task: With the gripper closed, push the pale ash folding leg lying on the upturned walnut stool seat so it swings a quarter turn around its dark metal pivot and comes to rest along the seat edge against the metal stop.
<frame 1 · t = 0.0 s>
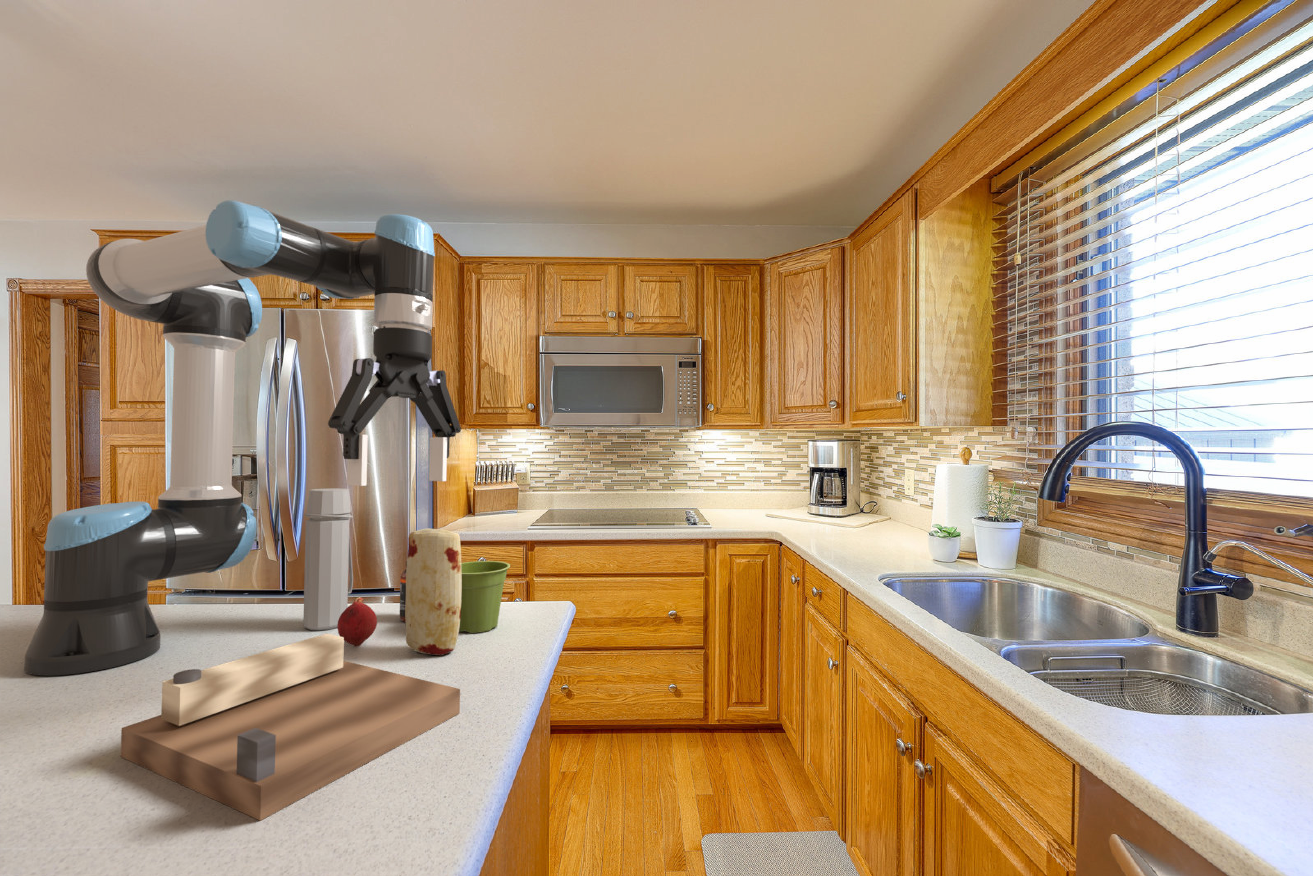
hand: (400, 483, 83), 28 cm above the counter, fingers open, 13 cm apart
plant pot: (476, 629, 109), on the counter
onion: (356, 647, 98), on the counter
food model: (433, 653, 96), on the counter
stool seat: (304, 733, 68), on the counter
water bottle: (330, 625, 110), on the counter
folding leg: (262, 670, 72), point 6 cm above the counter, hinge at 90.0°
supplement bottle: (416, 620, 114), on the counter
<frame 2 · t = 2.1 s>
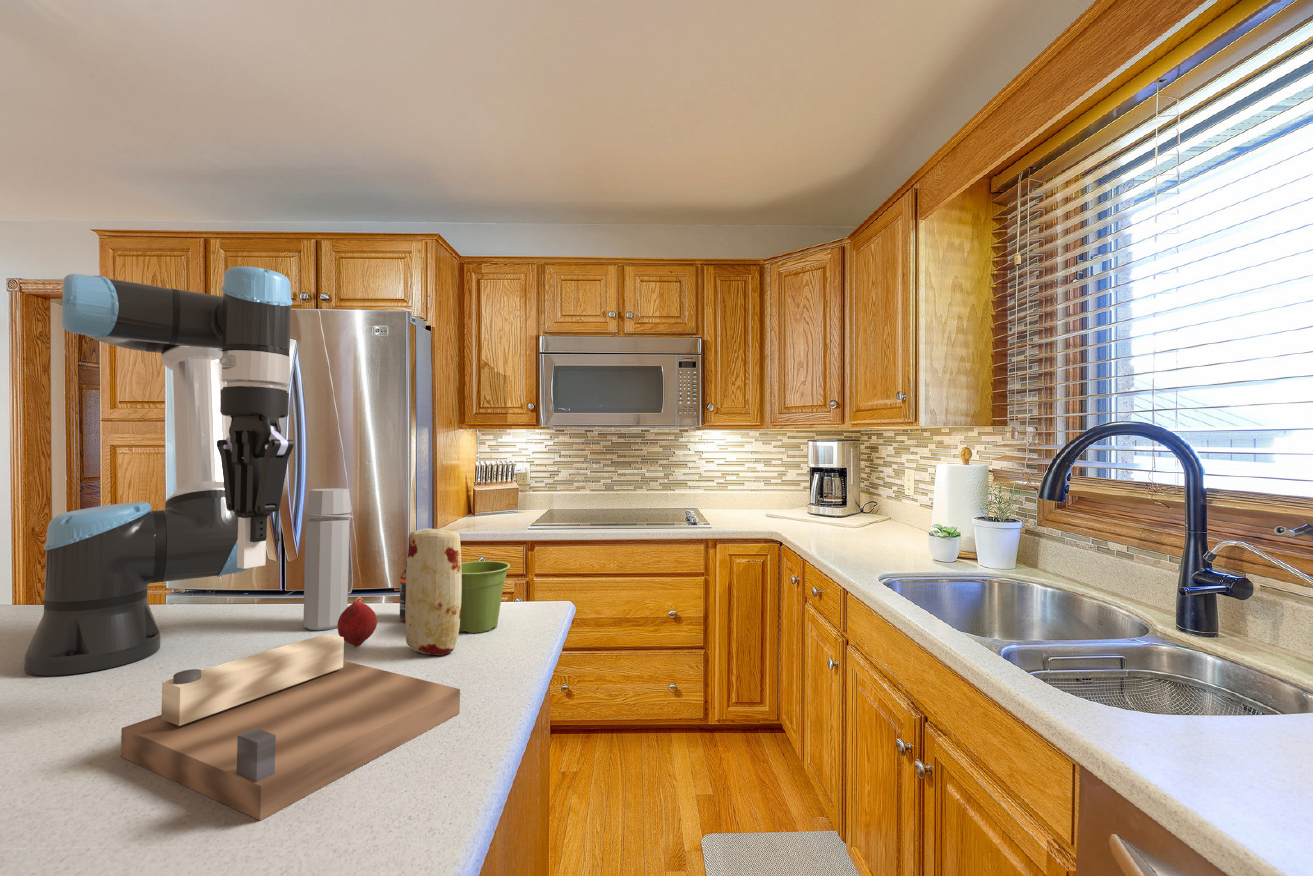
hand: (251, 566, 78), 17 cm above the counter, fingers closed
nothing on the counter moved.
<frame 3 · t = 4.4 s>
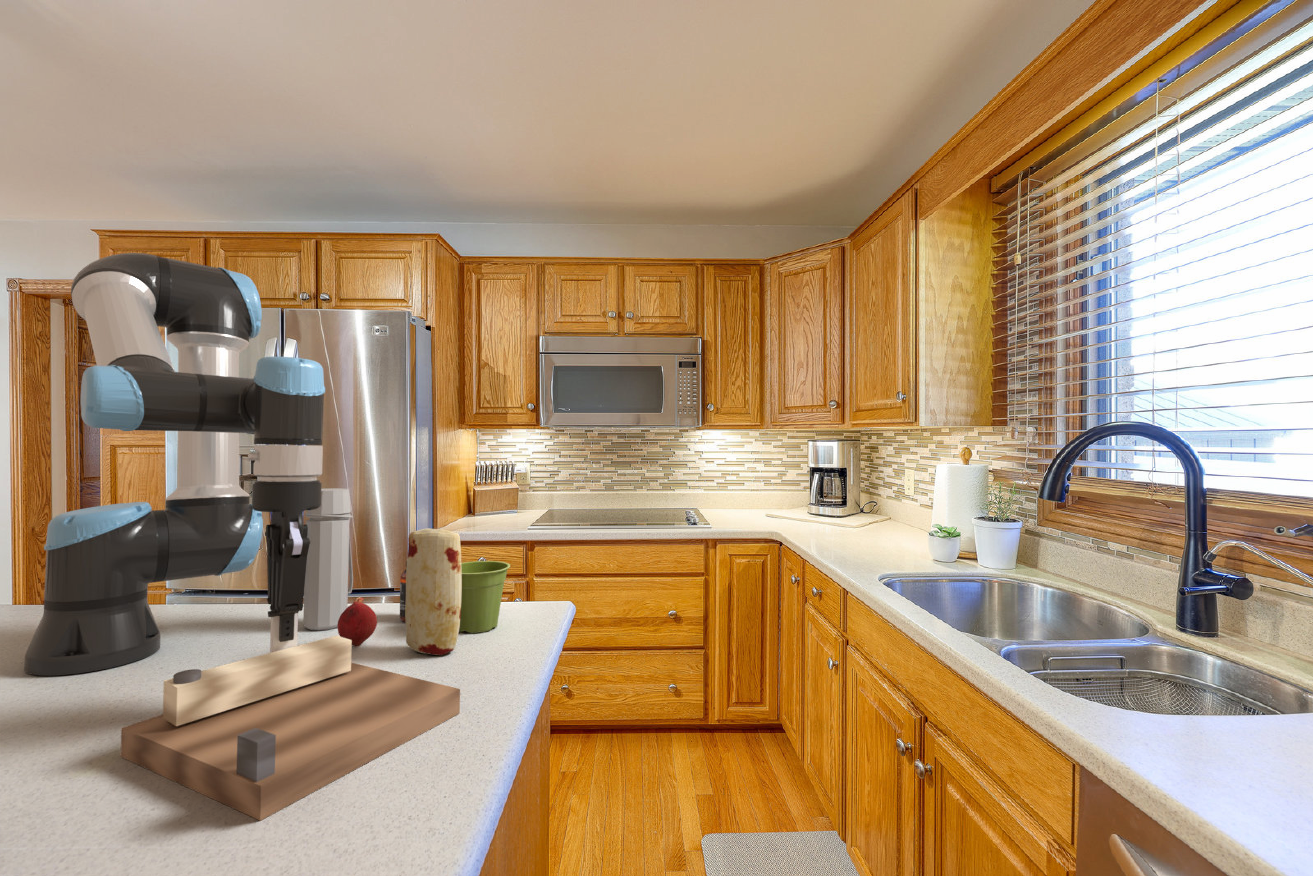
hand: (283, 664, 76), 5 cm above the counter, fingers closed
folding leg: (266, 672, 71), point 6 cm above the counter, hinge at 83.5°, touching gripper
everything else where it was.
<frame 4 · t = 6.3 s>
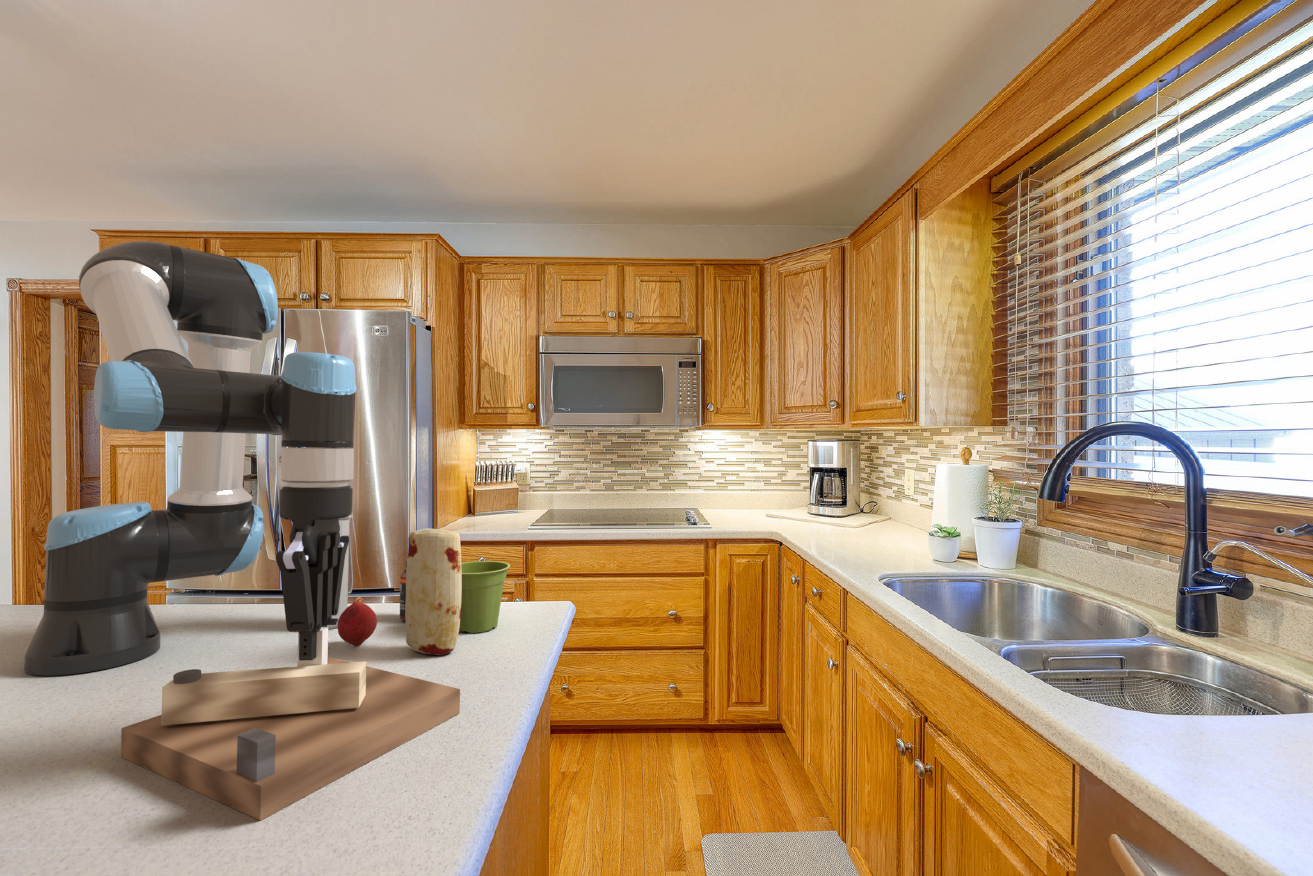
hand: (312, 684, 70), 5 cm above the counter, fingers closed
folding leg: (270, 688, 67), point 6 cm above the counter, hinge at 40.5°, touching gripper
everything else where it was.
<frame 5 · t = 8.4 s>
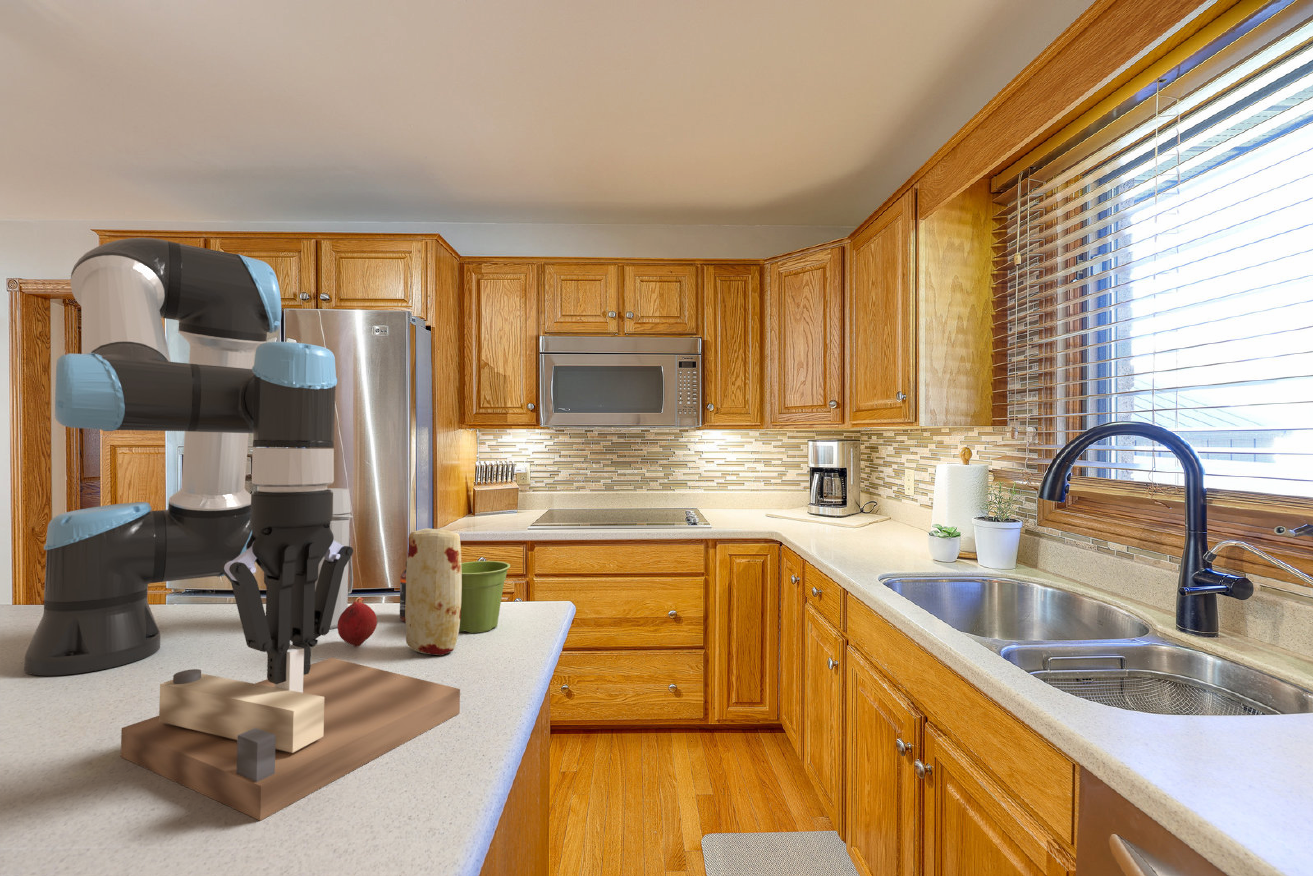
hand: (288, 709, 63), 5 cm above the counter, fingers closed
folding leg: (239, 706, 62), point 6 cm above the counter, hinge at 6.9°, touching gripper
everything else where it was.
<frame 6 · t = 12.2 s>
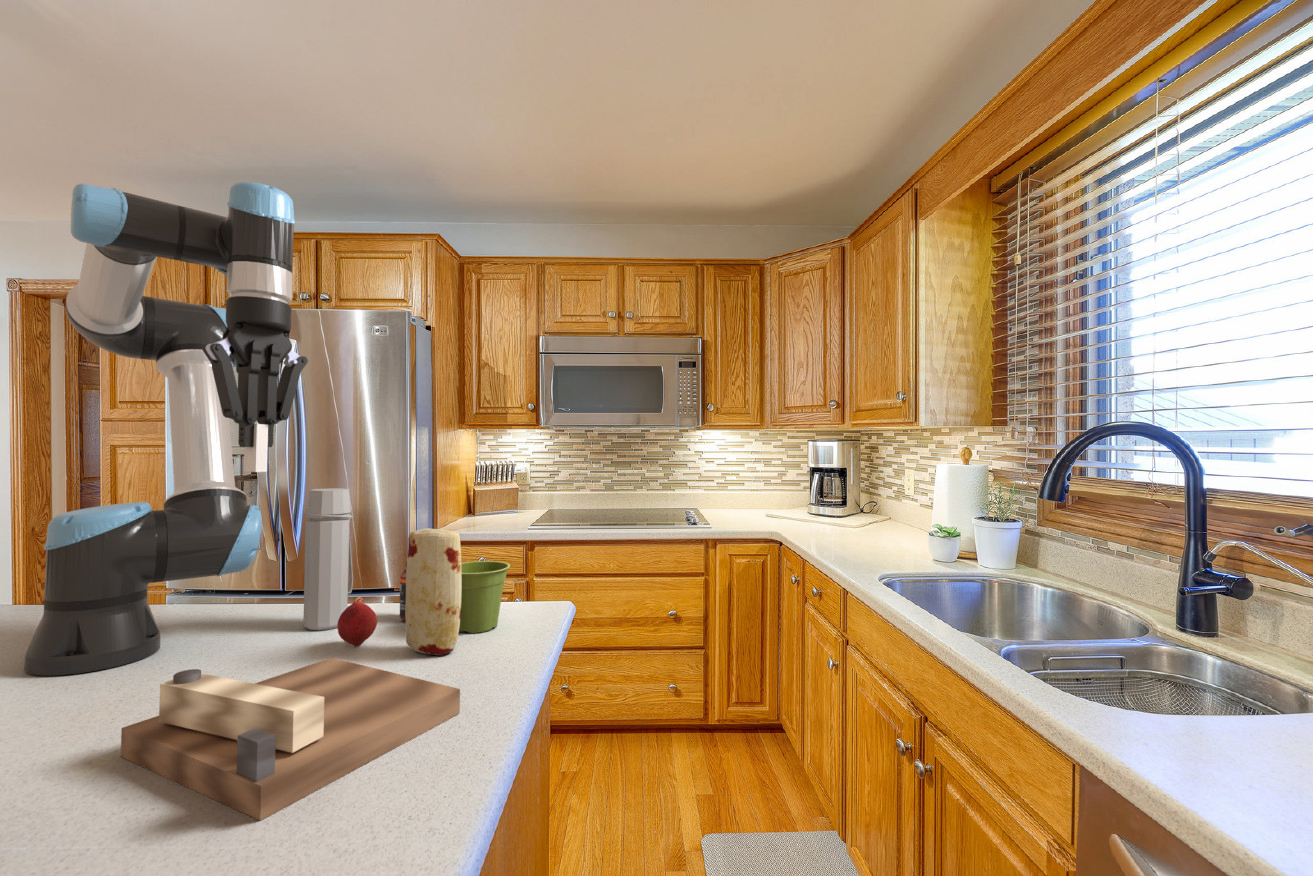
hand: (255, 471, 82), 29 cm above the counter, fingers closed
folding leg: (239, 706, 62), point 6 cm above the counter, hinge at 6.9°
everything else where it was.
at the end: folding leg at +7° (first picture: +90°) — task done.
